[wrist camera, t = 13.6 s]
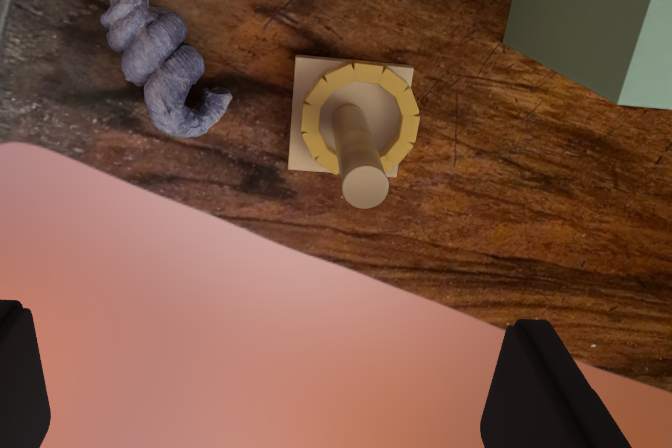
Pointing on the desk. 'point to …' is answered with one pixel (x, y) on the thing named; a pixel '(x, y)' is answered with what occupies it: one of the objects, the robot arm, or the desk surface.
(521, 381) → the robot arm
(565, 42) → the stand
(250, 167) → the desk surface
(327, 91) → the ring
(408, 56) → the desk surface
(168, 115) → the seashell
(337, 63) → the post
